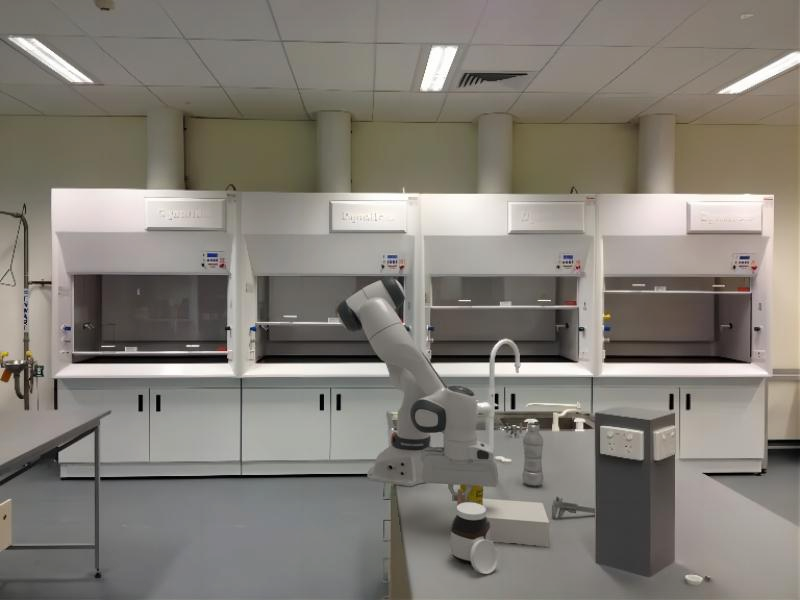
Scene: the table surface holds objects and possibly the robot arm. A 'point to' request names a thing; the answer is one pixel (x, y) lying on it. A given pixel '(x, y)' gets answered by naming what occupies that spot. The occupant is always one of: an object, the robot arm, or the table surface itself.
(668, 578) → the table surface
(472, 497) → the supplement bottle
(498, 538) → the sleeve
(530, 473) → the plastic bottle
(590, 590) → the table surface
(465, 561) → the spread jar
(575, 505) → the caliper
